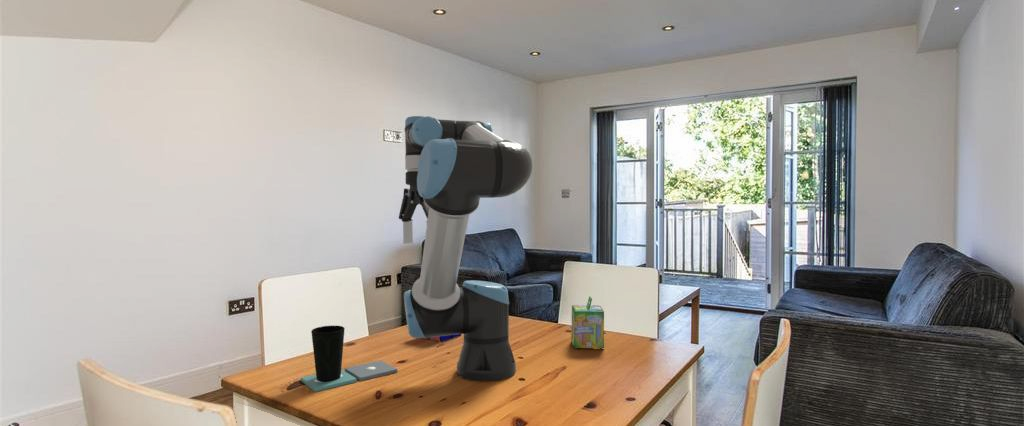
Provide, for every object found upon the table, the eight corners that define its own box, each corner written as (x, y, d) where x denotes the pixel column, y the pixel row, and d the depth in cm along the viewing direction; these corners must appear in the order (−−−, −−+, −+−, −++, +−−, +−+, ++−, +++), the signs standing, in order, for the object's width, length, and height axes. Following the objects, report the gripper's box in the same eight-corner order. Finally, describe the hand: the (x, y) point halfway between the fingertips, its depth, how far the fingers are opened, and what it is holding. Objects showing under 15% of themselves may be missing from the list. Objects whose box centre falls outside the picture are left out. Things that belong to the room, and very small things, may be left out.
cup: (351, 375, 126) (351, 327, 125) (328, 385, 119) (328, 334, 118) (328, 370, 129) (328, 324, 129) (304, 380, 122) (304, 331, 122)
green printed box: (571, 341, 159) (570, 294, 158) (600, 341, 158) (600, 294, 158) (573, 349, 149) (573, 300, 149) (604, 350, 149) (604, 300, 149)
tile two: (356, 382, 123) (356, 378, 123) (315, 392, 117) (315, 388, 117) (340, 371, 131) (340, 368, 131) (301, 380, 124) (300, 377, 124)
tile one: (397, 372, 130) (397, 368, 130) (360, 381, 124) (360, 377, 124) (380, 362, 138) (380, 359, 138) (344, 370, 131) (344, 367, 131)
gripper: (453, 169, 138) (454, 246, 138) (409, 173, 157) (409, 241, 157) (430, 168, 133) (430, 248, 133) (387, 172, 152) (387, 243, 152)
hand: (419, 244), depth 145 cm, fingers open, 13 cm apart
